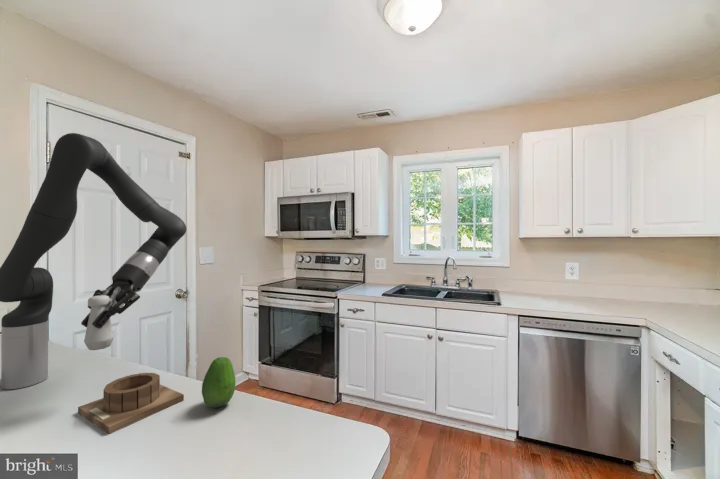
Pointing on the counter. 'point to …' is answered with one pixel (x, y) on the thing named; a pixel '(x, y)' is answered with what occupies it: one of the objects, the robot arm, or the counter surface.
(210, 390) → the avocado
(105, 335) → the salt shaker
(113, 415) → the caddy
